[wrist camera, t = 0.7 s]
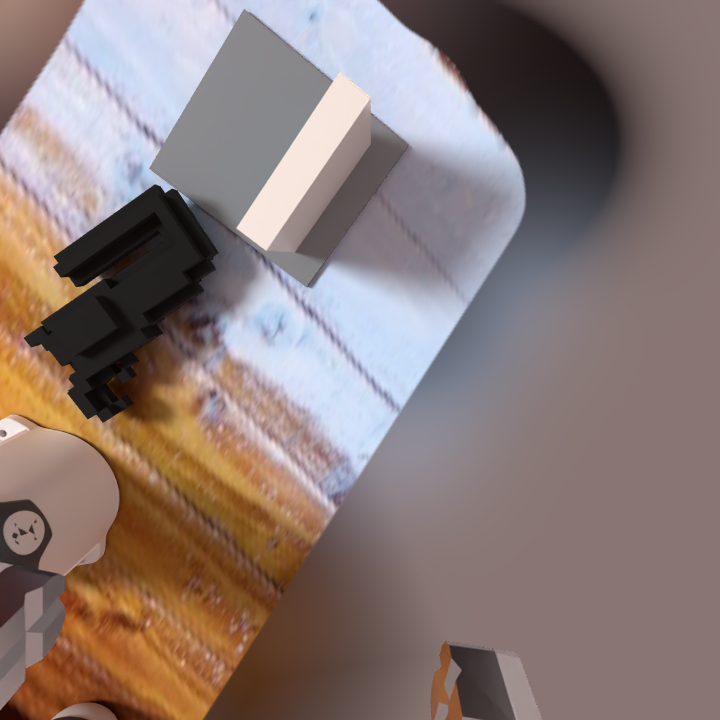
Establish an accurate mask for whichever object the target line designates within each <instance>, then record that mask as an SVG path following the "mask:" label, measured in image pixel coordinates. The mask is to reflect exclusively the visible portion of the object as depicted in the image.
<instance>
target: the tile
mask: <svg viewBox="0 0 720 720" xmlns="http://www.w3.org/2000/svg"><path fill="white" fill-rule="evenodd" d="M370 145H371V97H369V96H368V95H367V94H366V93H365V92H363V91H362V90H361V89H360V88H359V87H357V86H356V85H355V84H354V83H353V82H351V81H350V80H349V79H348V78H347V77H345V76H344V75H343V74H342V73H341V72H339V74H338V75H337V77H336V78H335V80H334V81H333V83H332V84H331V86H330V87H329V89H328V90H327V92H326V93H325V95H324V96H323V98H322V99H321V101H320V102H319V104H318V105H317V107H316V108H315V110H314V111H313V113H312V114H311V116H310V117H309V119H308V120H307V122H306V123H305V125H304V127H303V128H302V130H301V131H300V133H299V134H298V136H297V137H296V139H295V140H294V142H293V143H292V145H291V146H290V148H289V149H288V151H287V152H286V154H285V155H284V157H283V158H282V160H281V161H280V163H279V164H278V166H277V167H276V169H275V170H274V172H273V173H272V175H271V176H270V178H269V180H268V181H267V183H266V184H265V186H264V187H263V189H262V190H261V192H260V193H259V195H258V196H257V198H256V199H255V201H254V202H253V204H252V205H251V207H250V208H249V210H248V211H247V213H246V214H245V216H244V217H243V219H242V220H241V222H240V223H239V225H238V226H237V229H238V230H239V231H241V232H242V233H243V234H245V235H246V236H247V237H249V238H250V239H251V240H252V241H254V242H255V243H256V244H258V245H259V246H260V247H262V248H263V249H264V250H266V251H278V252H296V250H297V249H298V247H299V246H300V245H301V243H302V242H303V240H304V239H305V237H306V236H307V235H308V233H309V232H310V230H311V229H312V227H313V226H314V225H315V223H316V222H317V220H318V219H319V217H320V216H321V215H322V213H323V212H324V210H325V209H326V207H327V206H328V205H329V203H330V202H331V200H332V199H333V197H334V196H335V195H336V193H337V192H338V190H339V189H340V187H341V186H342V185H343V183H344V182H345V180H346V179H347V177H348V176H349V175H350V173H351V172H352V170H353V169H354V167H355V166H356V165H357V163H358V162H359V160H360V159H361V157H362V156H363V155H364V153H365V152H366V150H367V149H368V147H369V146H370Z"/></svg>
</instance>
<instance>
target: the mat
mask: <svg viewBox="0 0 720 720" xmlns="http://www.w3.org/2000/svg"><path fill="white" fill-rule="evenodd" d="M332 83H333V82H332V81H330V80H329V79H328V78H327V77H326V76H324V75H323V74H322V73H321V72H320V71H318V70H317V69H316V68H315V67H314V66H312V65H311V64H310V63H309V62H308V61H306V60H305V59H304V58H303V57H302V56H300V55H299V54H298V53H297V52H296V51H294V50H293V49H292V48H291V47H290V46H288V45H287V44H286V43H285V42H283V41H282V40H281V39H280V38H279V37H277V36H276V35H275V34H274V33H273V32H271V31H270V30H269V29H268V28H267V27H265V26H264V25H263V24H262V23H261V22H259V21H258V20H257V19H256V18H255V17H253V16H252V15H251V14H250V13H249V12H247V11H246V10H245V9H244V10H243V12H242V13H241V15H240V17H239V18H238V20H237V22H236V23H235V25H234V27H233V28H232V30H231V32H230V34H229V35H228V37H227V39H226V40H225V42H224V44H223V45H222V47H221V49H220V50H219V52H218V54H217V55H216V57H215V59H214V60H213V62H212V64H211V65H210V67H209V69H208V70H207V72H206V74H205V76H204V77H203V79H202V81H201V82H200V84H199V86H198V87H197V89H196V91H195V92H194V94H193V96H192V97H191V99H190V101H189V102H188V104H187V106H186V107H185V109H184V111H183V113H182V114H181V116H180V118H179V119H178V121H177V123H176V124H175V126H174V128H173V129H172V131H171V133H170V134H169V136H168V138H167V139H166V141H165V143H164V144H163V146H162V148H161V150H160V151H159V153H158V155H157V156H156V158H155V160H154V161H153V163H152V165H151V166H150V168H149V169H150V170H152V171H153V172H154V173H156V174H157V175H158V176H160V177H161V178H162V179H164V180H165V181H166V182H168V183H169V184H170V185H172V186H173V187H174V188H176V189H177V190H178V191H180V192H181V193H182V194H184V195H185V196H186V197H188V198H189V199H190V200H191V201H193V202H194V203H195V204H197V205H198V206H199V207H201V208H202V209H203V210H205V211H206V212H207V213H209V214H210V215H211V216H213V217H214V218H215V219H217V220H218V221H219V222H221V223H222V224H223V225H225V226H226V227H227V228H229V229H230V230H231V231H233V232H234V233H235V234H237V235H238V236H239V237H241V238H242V239H243V240H245V241H246V242H247V243H248V244H250V245H251V246H252V247H254V248H255V249H256V250H258V251H259V252H260V253H262V254H263V255H264V256H266V257H267V258H268V259H270V260H271V261H272V262H274V263H275V264H276V265H278V266H279V267H280V268H282V269H283V270H284V271H286V272H287V273H288V274H290V275H291V276H292V277H294V278H295V279H296V280H298V281H299V282H300V283H302V284H303V285H304V286H305V287H307V286H308V284H309V283H310V282H311V280H312V279H313V277H314V276H315V275H316V273H317V272H318V270H319V269H320V268H321V266H322V265H323V263H324V262H325V261H326V259H327V258H328V257H329V255H330V254H331V252H332V251H333V250H334V248H335V247H336V245H337V244H338V243H339V241H340V240H341V238H342V237H343V236H344V234H345V233H346V232H347V230H348V229H349V227H350V226H351V225H352V223H353V222H354V220H355V219H356V218H357V216H358V215H359V213H360V212H361V211H362V209H363V208H364V207H365V205H366V204H367V202H368V201H369V200H370V198H371V197H372V195H373V194H374V193H375V191H376V190H377V189H378V187H379V186H380V184H381V183H382V182H383V180H384V179H385V177H386V176H387V175H388V173H389V172H390V170H391V169H392V168H393V166H394V165H395V164H396V162H397V161H398V159H399V158H400V157H401V155H402V154H403V152H404V151H405V150H406V148H407V147H408V144H406V143H405V142H404V141H403V140H402V139H400V138H399V137H398V136H397V135H395V134H394V133H393V132H392V131H391V130H389V129H388V128H387V127H386V126H385V125H383V124H382V123H381V122H380V121H379V120H377V119H376V118H375V117H374V116H373V115H371V145H370V146H369V147H368V149H367V150H366V152H365V153H364V155H363V156H362V157H361V159H360V160H359V162H358V163H357V165H356V166H355V167H354V169H353V170H352V172H351V173H350V175H349V176H348V177H347V179H346V180H345V182H344V183H343V185H342V186H341V187H340V189H339V190H338V192H337V193H336V195H335V196H334V197H333V199H332V200H331V202H330V203H329V205H328V206H327V207H326V209H325V210H324V212H323V213H322V215H321V216H320V217H319V219H318V220H317V222H316V223H315V225H314V226H313V227H312V229H311V230H310V232H309V233H308V235H307V236H306V237H305V239H304V240H303V242H302V243H301V245H300V246H299V247H298V249H297V250H296V252H278V251H266V250H264V249H263V248H262V247H260V246H259V245H258V244H256V243H255V242H254V241H252V240H251V239H250V238H249V237H247V236H246V235H245V234H243V233H242V232H241V231H239V230H238V229H237V226H238V225H239V223H240V222H241V220H242V219H243V217H244V216H245V214H246V213H247V211H248V210H249V208H250V207H251V205H252V204H253V202H254V201H255V199H256V198H257V196H258V195H259V193H260V192H261V190H262V189H263V187H264V186H265V184H266V183H267V181H268V180H269V178H270V176H271V175H272V173H273V172H274V170H275V169H276V167H277V166H278V164H279V163H280V161H281V160H282V158H283V157H284V155H285V154H286V152H287V151H288V149H289V148H290V146H291V145H292V143H293V142H294V140H295V139H296V137H297V136H298V134H299V133H300V131H301V130H302V128H303V127H304V125H305V123H306V122H307V120H308V119H309V117H310V116H311V114H312V113H313V111H314V110H315V108H316V107H317V105H318V104H319V102H320V101H321V99H322V98H323V96H324V95H325V93H326V92H327V90H328V89H329V87H330V86H331V84H332Z"/></svg>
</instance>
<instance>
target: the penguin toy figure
mask: <svg viewBox="0 0 720 720" xmlns="http://www.w3.org/2000/svg"><path fill="white" fill-rule="evenodd" d="M51 720H117V718H116V716H115V715H114V714H113V713H112V712H111V711H110V710H109V709H108V708H106V707H104V706H102V705H100V704H97V703H90V702H86V703H79V704H75V705H72V706H70V707H68V708H66V709H64V710H63V711H61V712H60V713H58V714H57V715H56V716H55V717H54V718H52V719H51Z"/></svg>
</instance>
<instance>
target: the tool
mask: <svg viewBox="0 0 720 720" xmlns="http://www.w3.org/2000/svg"><path fill="white" fill-rule="evenodd" d="M158 234H161V235H162V237H163V238H164V240H165V241H164V242H162V243H161V244H160V245H158V246H157V247H155V248H154V249H152V250H151V251H149V252H148V253H147V254H145V255H144V256H142V257H141V258H139V259H138V260H136V261H135V262H133V263H132V264H131V265H129V266H128V267H126V268H125V269H123V270H122V271H120V272H119V273H117V274H116V275H115V276H113V277H112V278H110V279H103V280H101V281H100V282H98V283H97V284H95V285H94V286H93V287H91V288H90V289H88V290H87V291H85V292H84V293H82V294H81V295H79V296H78V297H77V298H75V299H74V300H72V301H71V302H69V303H68V304H66V305H65V306H64V307H62V308H61V309H59V310H58V311H56V312H55V313H53V314H52V315H50V316H49V317H48V318H46V319H45V320H43V321H42V322H41V323H42V325H43V326H40V327H39V328H37V329H36V330H35V331H33V332H32V333H30V334H29V335H27V336H26V337H24V339H25V340H26V342H27V343H28V344H29V345H30V347H34V346H38V345H40V344H42V346H43V347H44V348H45V349H46V351H48V350H49V351H50V352H51V353H52V354H53V356H54V357H55V358H56V360H57V361H58V362H59V363H60V365H61V366H65V365H68V364H70V365H71V366H72V368H73V369H74V370H75V373H73V374H71V375H70V378H68V379H69V380H70V381H71V383H72V384H73V385H74V386H75V387H73V388H72V389H70V390H68V391H69V392H68V393H67V394H68V395H69V396H70V397H71V399H72V400H73V401H74V402H75V404H76V405H77V406H78V407H79V409H80V410H81V411H82V413H83V414H84V415H85V416H86V418H87V419H89V418H91V417H93V416H95V415H97V416H98V417H99V418H100V420H101V421H102V422H105V421H107V420H108V419H110V418H111V417H113V416H115V415H116V414H118V413H119V412H121V411H123V410H124V409H126V408H127V407H129V406H130V405H132V404H134V403H133V402H132V401H131V399H130V398H129V397H128V395H126V396H124V397H122V398H121V399H119V400H118V398H117V397H116V396H115V394H114V393H113V392H112V390H111V389H110V388H109V387H108V385H107V384H106V383H107V382H109V381H110V380H111V379H112V378H113V377H115V376H116V375H117V377H118V378H119V379H120V381H121V382H122V383H125V382H127V381H129V380H131V379H132V378H134V377H135V376H137V375H136V373H135V372H134V370H133V369H132V368H131V366H132V365H133V364H135V363H137V362H138V361H139V360H138V359H137V358H136V356H135V355H134V354H133V352H135V351H137V350H138V349H140V348H141V347H143V346H144V345H146V344H147V343H149V342H150V341H152V340H153V339H155V338H157V337H158V336H160V335H161V334H163V333H162V331H161V330H160V328H159V327H158V326H157V323H159V322H161V321H162V320H164V319H165V318H164V317H165V316H167V315H168V314H170V313H172V312H173V311H175V310H176V309H178V308H179V307H181V306H182V305H184V304H185V303H187V302H188V301H190V300H191V299H193V298H194V297H196V296H197V295H199V294H200V293H202V292H203V291H204V289H203V288H202V287H201V285H200V284H199V282H200V281H202V280H201V279H202V278H203V277H205V276H206V275H208V274H209V273H211V272H212V271H214V270H215V269H216V268H215V267H214V265H213V264H212V262H211V260H212V259H213V258H212V257H213V256H215V255H216V254H218V251H217V250H216V248H215V247H214V245H213V244H212V242H211V241H210V239H209V238H208V236H207V235H206V233H205V232H204V230H203V228H202V227H201V225H200V224H199V222H198V221H197V219H196V218H195V216H194V215H193V213H192V212H191V210H190V209H189V207H188V206H187V204H186V203H185V201H184V200H183V198H182V197H181V195H180V194H179V192H178V191H177V190H175V189H171V190H169V191H168V192H166V193H165V192H164V191H163V189H162V188H161V186H158V185H153V186H152V187H151V188H149V189H148V190H146V191H145V192H144V193H142V194H141V195H139V196H138V197H137V198H135V199H134V200H132V201H131V202H130V203H128V204H127V205H125V206H124V207H123V208H121V209H120V210H118V211H117V212H116V213H114V214H113V215H111V216H110V217H108V218H107V219H106V220H104V221H103V222H101V223H100V224H99V225H97V226H96V227H94V228H93V229H92V230H90V231H89V232H87V233H86V234H85V235H83V236H82V237H80V238H79V239H78V240H76V241H75V242H73V243H72V244H71V245H69V246H68V247H66V248H65V249H64V250H62V251H61V252H59V253H58V254H57V255H55V256H54V258H55V259H56V260H57V262H58V264H57V265H55V266H54V267H53V268H54V269H55V270H56V272H57V273H58V274H59V276H60V277H69V278H70V279H71V281H72V282H73V283H74V285H75V286H76V287H80V286H84V285H86V284H87V283H89V282H90V281H92V280H93V279H95V278H96V277H97V276H99V275H100V274H102V273H103V272H105V271H106V270H108V269H109V268H110V267H112V266H113V265H115V264H116V263H118V262H119V261H121V260H122V259H123V258H125V257H126V256H128V255H129V254H131V253H132V252H134V251H135V250H136V249H138V248H139V247H141V246H142V245H144V244H145V243H147V242H148V241H149V240H151V239H152V238H154V237H155V236H157V235H158ZM118 362H120V364H121V365H122V366H123V368H124V370H122V371H121V370H120V368H119V367H118V366H117V363H118Z"/></svg>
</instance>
